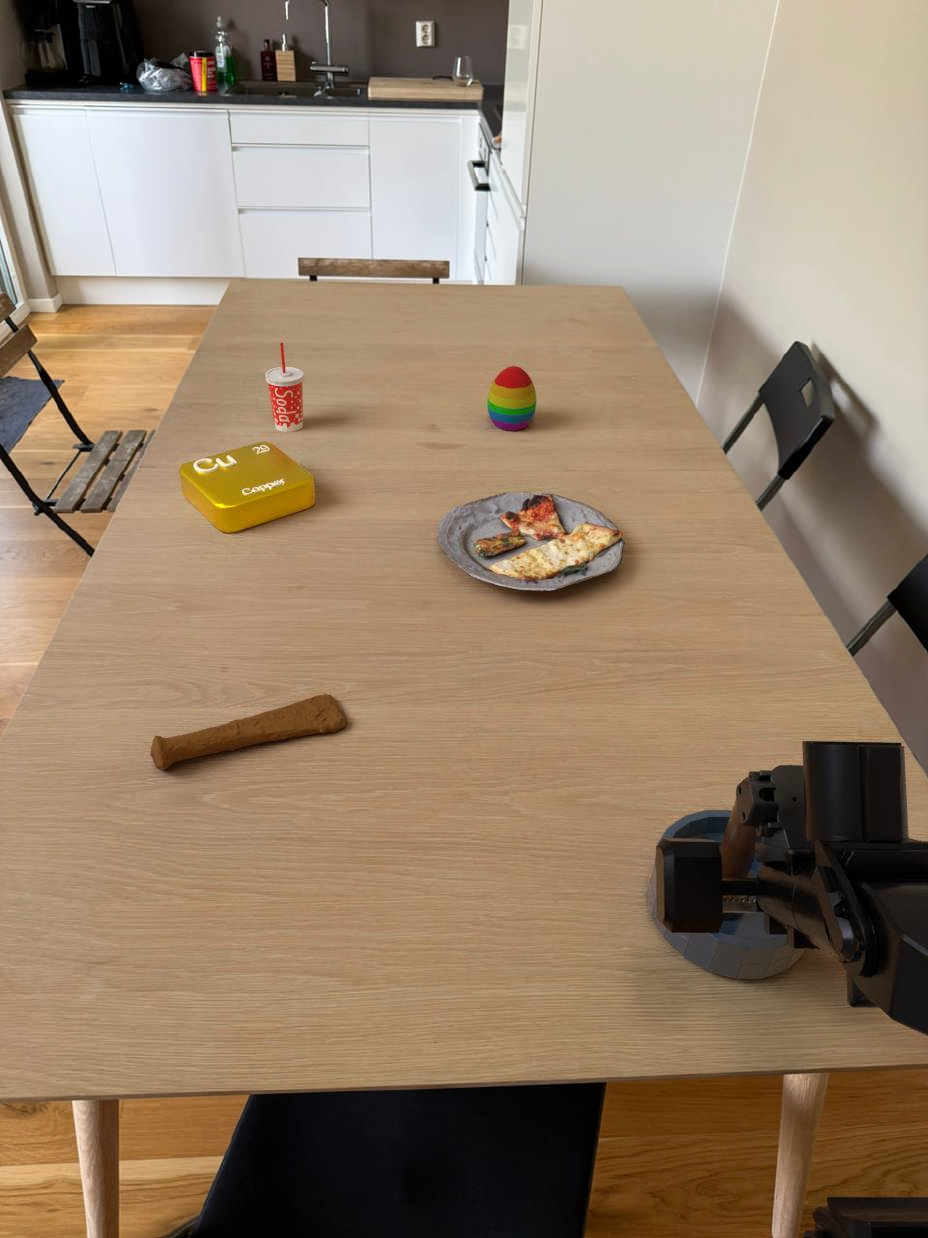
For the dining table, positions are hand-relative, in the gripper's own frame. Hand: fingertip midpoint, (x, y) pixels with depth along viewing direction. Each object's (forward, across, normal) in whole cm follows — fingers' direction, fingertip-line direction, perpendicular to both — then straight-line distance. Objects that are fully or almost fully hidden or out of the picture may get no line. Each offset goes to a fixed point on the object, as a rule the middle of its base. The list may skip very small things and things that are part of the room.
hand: (749, 869), depth 71 cm
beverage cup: (+71, +51, -61) cm, 106 cm away
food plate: (+46, +13, -35) cm, 59 cm away
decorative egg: (+73, +14, -63) cm, 97 cm away
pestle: (+6, 0, +3) cm, 7 cm away
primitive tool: (+20, +44, -10) cm, 49 cm away
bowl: (+6, 0, +4) cm, 7 cm away
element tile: (+54, +53, -44) cm, 87 cm away
